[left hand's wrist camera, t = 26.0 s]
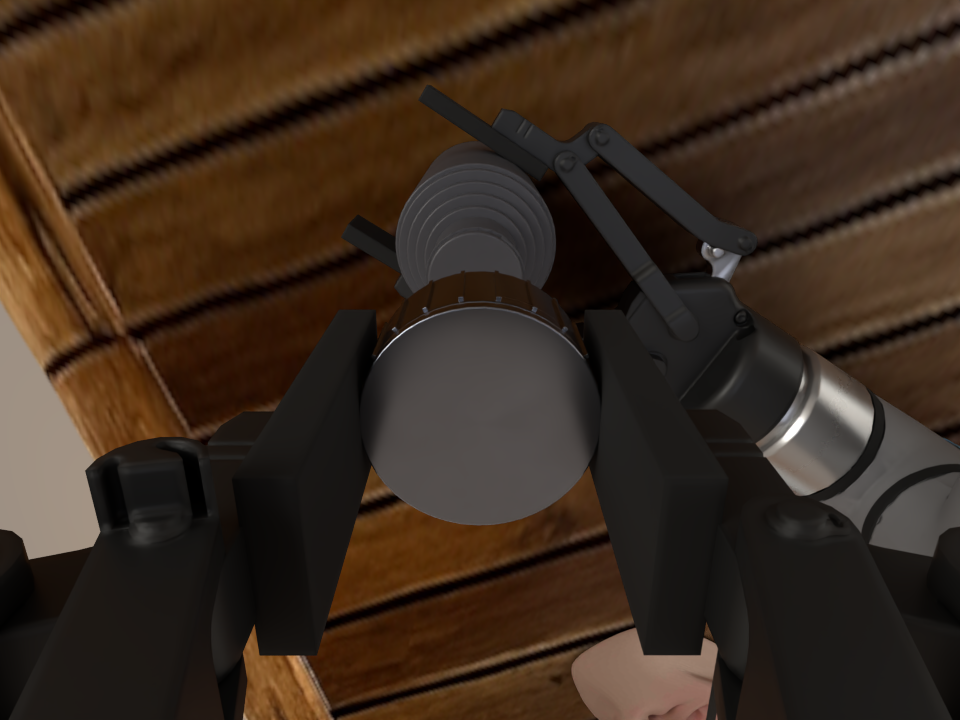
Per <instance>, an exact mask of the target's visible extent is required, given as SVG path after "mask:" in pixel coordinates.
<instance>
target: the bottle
mask: <svg viewBox="0 0 960 720" xmlns="http://www.w3.org/2000/svg"><path fill="white" fill-rule="evenodd" d="M395 244H396V255H397V260H398V264H399V267H400V270H401V273H402V275H403V277H404V279H405V281H406V283H407V284H408V286H409V287H410V289H411V290H412V292H413V293H415V292H417V291H418V290H420V289H421V288H423V287H425V286H426V285H428V284H429V281H431V280H433V281H436V280H439V279H441V278H444V277H447V276H450V275H454V274H459V273H461V271H464V270H465V272H478V271H486V272H495V270H496V271H499V273H502V274H506V275H510V276H514V277H516V278H519V279H522V280H525V281H526V280H529V281H531V284H532V285H534V286H536V287H538V288H539V289H542V287H543V285H544V284H545V282H546V280H547V279H548V276H549V274H550V272H551V269H552V266H553V262H554V258H555V252H556V235H555V227H554V223H553V219H552V216H551V214H550V211H549V209H548V207H547V205H546V203H545V202H544V200H543V198H542V197H541V195H540V193H539V192H538V190H537V189H536V187H535V185H534V184H533V182H532V181H531V179H530V177H529V176H528V174H527V173H526V172H525V171H523V170H522V169H520V168H519V167H517V166H516V165H515V164H513V163H511V162H510V161H508V160H507V159H505V158H504V157H502V156H501V155H499V154H498V153H496V152H495V151H493V150H492V149H490V148H489V147H487V146H486V145H485V144H483V143H482V142H480V141H471V142H465V143H461V144H458V145H455V146H453V147H451V148H449V149H447V150H446V151H444V152H443V153H442V154H441V155H439V156H438V157H437V158H436V159H435V161H434V162H433V163H432V164H431V166H430V167H429V169H428V170H427V172H426V173H425V175H424V176H423V178H422V179H421V181H420V182H419V184H418V185H417V187H416V188H415V190H414V192H413V193H412V195H411V196H410V198H409V199H408V201H407V202H406V204H405V206H404V208H403V210H402V212H401V215H400V218H399V221H398V225H397V230H396V242H395Z"/></svg>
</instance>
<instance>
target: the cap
mask: <svg viewBox="0 0 960 720" xmlns="http://www.w3.org/2000/svg"><path fill="white" fill-rule="evenodd" d="M587 358H589V354H588V352H587V350H586V347H585V345H584V342H583V340H582V337H581V335H580V332H579V330H578V328H577V325H576V323H575V322H571V320H570V319H569V317H568V315H567V314H566V313H565V312H564V310H563V309H562V308H561V307H560V305H559V303H558V300H557V299H556V298H555V297H554V298H553V299H552V298H551V297H550V296H549V295H548V294H546V293H545V292H544V291H542V290H541V289H539V288H538V287H536V286H534V285H532V284H531V281H529V280H526V281H525V280H522V279H519V278H516V277H514V276H510V275H506V274H502V273H499V271H496V270H495V272H486V271H478V272H465V270H464V271H461V273H459V274H454V275H450V276H447V277H444V278H441V279H439V280H436V281H433V280H431V281H429V284H428V285H426V286H425V287H423V288H421V289H420V290H418V291H417V292H415V293H414V294H413V295H412V296H410V297H409V298H408V299H406V298H404V299H403V301H402V304H401V306H400V307H399V308H398V309H397V311H396V312H395V314H394V315H393V316H392V318H391V319H390V321H389V323H387V322H385V324H384V326H383V328H382V331H381V333H380V336H379V338H378V341H377V343H376V346H375V348H374V351H373V353H372V355H371V359H373V360H372V363H371V365H370V368H369V371H368V373H367V375H366V378H365V381H364V384H363V386H362V390H361V395H360V400H359V415H360V428H361V440H362V444H363V447H364V450H365V452H366V455H367V457H368V459H369V461H370V463H371V465H372V466H373V468H374V470H375V472H376V473H377V474H378V476H379V477H380V478H381V480H382V481H383V482H384V483H385V485H386V486H387V487H388V488H389V489H390V490H392V491H393V492H394V493H395V494H396V495H397V496H398V497H400V498H401V499H402V500H403V501H405V502H406V503H407V504H409V505H411V506H413V507H414V508H416V509H418V510H419V511H422V512H424V513H426V514H428V515H431V516H433V517H436V518H439V519H442V520H445V521H450V522H455V523H460V524H469V525H493V524H500V523H507V522H511V521H515V520H519V519H522V518H525V517H527V516H530V515H533V514H535V513H537V512H539V511H541V510H543V509H545V508H547V507H548V506H550V505H551V504H553V503H554V502H556V501H557V500H559V499H560V498H561V497H562V496H563V495H565V494H566V493H567V492H568V491H569V490H570V489H571V488H572V487H573V486H574V485H575V484H576V483H577V482H578V480H579V479H580V478H581V476H582V475H583V474H584V472H585V471H586V469H587V468H588V466H589V464H590V462H591V460H592V458H593V456H594V454H595V451H596V448H597V445H598V442H599V434H600V421H601V396H600V393H599V389H598V384H597V381H596V379H595V376H594V374H593V371H592V369H591V366H590V364H589V361H588V359H587Z"/></svg>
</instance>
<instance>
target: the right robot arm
mask: <svg viewBox="0 0 960 720" xmlns="http://www.w3.org/2000/svg"><path fill="white" fill-rule="evenodd" d="M419 101H420V102H422V103H423V104H425V105H426V106H428V107H429V108H431V109H432V110H434V111H435V112H437V113H438V114H440V115H441V116H443V117H444V118H446V119H447V120H449V121H450V122H452V123H453V124H455V125H456V126H458V127H459V128H461V129H462V130H464V131H465V132H467V133H468V134H470V135H471V136H473V137H474V138H476V139H477V140H479V141H480V142H482V143H483V144H485V145H486V146H487V147H489V148H490V149H492V150H493V151H495V152H496V153H498V154H499V155H501V156H502V157H504V158H505V159H507V160H508V161H510V162H511V163H513V164H515V165H516V166H517V167H519V168H520V169H522V170H523V171H525V172H526V173H528V174H529V175H531V176H532V177H534V178H535V179H537V180H538V181H540V180H541V178H542V177H543V175H544V174H545V172H546V171H547V169H548V168H550V169H551V170H553V171H554V172H555V173H556V175H557V176H558V177H559V179H560V180H561V181H562V183H563V184H564V186H565V187H566V188H567V190H568V191H569V192H570V194H571V195H572V196H573V198H574V199H575V201H576V202H577V203H578V205H579V206H580V207H581V209H582V210H583V212H584V213H585V214H586V216H587V217H588V218H589V220H590V221H591V223H592V224H593V225H594V227H595V228H596V229H597V231H598V232H599V234H600V235H601V236H602V238H603V239H604V240H605V242H606V243H607V245H608V246H609V247H610V249H611V250H612V251H613V253H614V254H615V256H616V257H617V258H618V260H619V261H620V262H621V264H622V265H623V267H624V268H625V270H626V271H627V272H628V274H629V275H630V276H631V278H632V279H633V281H634V282H633V281H631V283H630V284H629V285H628V287H627V288H626V290H625V291H624V292H623V295H622V297H621V299H620V302H619V304H618V306H617V307H616V308H615V309H614V310H622V312H623V313H624V315H625V317H626V318H627V320H628V321H629V323H630V324H631V326H632V327H633V329H634V331H635V332H636V334H637V335H638V337H639V338H640V340H641V342H642V343H643V345H644V346H645V348H646V349H647V351H648V353H649V354H650V356H651V357H652V359H653V360H654V362H655V364H656V365H657V367H658V368H659V370H660V371H661V373H662V375H663V376H664V378H665V379H666V381H667V382H668V384H669V386H670V387H671V389H672V390H673V392H674V393H675V395H676V396H677V398H678V400H679V401H680V403H681V404H682V406H683V407H684V409H717V410H719V411H720V412H722V413H724V414H725V415H727V416H728V417H730V418H732V419H733V420H735V421H737V422H738V423H740V424H741V425H742V427H743V428H744V429H745V431H746V432H747V433H748V434H749V436H750V437H751V438H752V440H753V443H756V445H757V446H758V447H759V449H760V450H761V451H762V452H763V457H766V458H767V459H768V460H769V461H770V463H771V464H772V465H773V467H774V468H775V469H776V471H777V472H778V473H779V474H780V476H781V477H782V478H783V480H784V481H785V482H786V483H787V485H788V486H789V487H790V489H791V490H792V491H793V492H794V494H795V495H798V496H803V497H808V498H812V499H814V500H817V501H819V502H822V503H824V504H827V505H829V506H832V507H833V508H835V509H836V510H838V511H839V512H841V513H842V514H844V515H845V516H847V517H848V518H849V519H850V520H851V521H852V522H853V523H854V525H855V526H856V527H857V528H858V530H859V531H860V533H861V535H862V537H863V539H864V541H865V543H867V544H871V545H875V546H879V547H884V548H889V549H894V550H899V551H904V552H910V553H915V554H920V555H925V556H931V557H933V555H934V551H935V548H936V545H937V542H938V538H939V536H940V535H941V534H942V533H944V532H945V531H946V530H948V529H949V528H954V527H960V446H958V445H956V444H954V443H953V442H951V441H950V440H948V439H945V438H942V437H940V436H939V435H937V434H936V433H934V432H933V431H931V430H930V429H928V428H927V427H925V426H924V425H922V424H921V423H919V422H918V421H916V420H915V419H913V418H911V417H910V416H908V415H907V414H905V413H904V412H902V411H900V410H899V409H897V408H896V407H894V406H893V405H891V404H889V403H888V402H886V401H885V400H883V399H882V398H880V397H878V396H877V395H875V394H874V393H873V392H872V391H871V390H869V389H868V388H866V387H865V385H863V384H862V383H860V382H859V381H857V380H856V379H854V378H853V377H851V376H850V375H848V374H847V373H845V372H844V371H842V370H841V369H840V368H838V367H837V366H835V365H834V364H832V363H831V362H829V361H828V360H826V359H825V358H823V357H822V356H820V355H819V354H817V353H816V352H814V351H813V350H811V349H810V348H808V347H805V346H803V345H799V343H798V342H797V340H796V339H795V338H794V337H792V336H791V335H789V334H788V333H786V332H785V331H783V330H782V329H780V328H779V327H777V326H776V325H774V324H773V323H771V322H770V321H768V320H767V319H765V318H764V317H762V316H761V315H759V314H758V313H757V312H755V311H754V310H752V309H751V308H749V307H748V306H746V305H745V304H743V303H742V302H740V300H739V299H738V297H737V296H736V293H735V291H734V288H733V287H732V285H731V284H730V283H729V282H730V280H731V277H732V275H733V273H734V271H735V269H736V267H737V265H738V263H739V260H740V258H741V256H745V255H749V254H750V253H752V252H753V251H754V250H755V248H756V246H757V243H758V242H757V237H756V236H755V234H754V233H752V232H750V231H748V230H746V229H744V228H742V227H740V226H738V225H736V224H734V223H732V222H729V221H726V220H723V219H720V218H718V217H715V216H713V215H711V214H710V213H709V212H708V211H707V210H706V209H705V208H703V207H702V206H701V205H700V204H699V203H698V202H696V201H695V200H694V199H693V198H692V197H691V196H690V195H688V194H687V193H686V192H685V191H684V190H683V189H682V188H680V187H679V186H678V185H677V184H676V183H675V182H673V181H672V180H671V179H670V178H669V177H668V176H667V175H665V174H664V173H663V172H662V171H661V170H660V169H659V168H657V167H656V166H655V165H654V164H653V163H652V162H651V161H649V160H648V159H647V158H646V157H645V156H644V155H642V154H641V153H640V152H639V151H638V150H637V149H636V148H634V147H633V146H632V145H631V144H630V143H629V142H628V141H626V140H625V139H624V138H623V137H622V136H621V135H620V134H618V133H617V132H616V131H615V130H614V129H613V128H611V127H610V126H608V125H606V124H602V123H598V122H592V123H589V124H587V125H586V126H585V127H584V129H583V130H581V131H580V132H579V133H577V134H576V135H575V136H574V137H572V138H571V139H569V140H566V141H558V140H555V139H554V138H552V137H551V136H549V135H548V134H547V133H545V132H544V131H542V130H541V129H539V128H538V127H536V126H535V125H533V124H532V123H531V122H529V121H528V120H526V119H525V118H523V117H522V116H520V115H519V114H518V113H516V112H515V111H512V110H507V109H501V110H500V112H499V114H498V115H497V117H496V119H495V120H494V122H493V124H492V125H491V126H490V125H489V124H487V123H486V122H484V121H483V120H481V119H480V118H478V117H477V116H475V115H474V114H472V113H471V112H469V111H468V110H466V109H465V108H464V107H462V106H461V105H459V104H458V103H456V102H455V101H453V100H452V99H450V98H449V97H447V96H446V95H444V94H443V93H441V92H440V91H438V90H437V89H435V88H434V87H433V86H431V85H427V86H426V88H425V89H424V91H423V93H422V95H421V96H420V98H419ZM596 156H599V157H600V158H601V159H602V160H603V161H605V162H606V163H607V164H608V165H609V166H610V167H612V168H613V169H614V170H615V171H616V172H617V173H619V174H620V175H621V176H622V177H623V178H624V179H626V180H627V181H628V182H629V183H630V184H631V185H633V186H634V187H635V188H636V189H637V190H639V191H640V192H641V193H642V194H643V195H644V196H646V197H647V198H648V199H649V200H650V201H651V202H653V203H654V204H655V205H656V206H657V207H658V208H660V209H661V210H662V211H663V212H664V213H666V214H667V215H668V216H669V217H670V218H671V219H673V220H674V221H675V222H676V223H677V224H678V225H680V226H681V227H682V228H684V229H685V230H686V231H688V232H689V233H691V234H692V235H694V236H695V237H697V238H699V239H698V241H697V244H696V250H697V252H698V254H699V255H700V256H702V257H703V258H704V259H705V260H706V262H707V270H706V272H693V273H676V274H662V273H661V271H660V270H659V268H658V267H657V266H656V265H655V263H654V262H653V261H652V260H651V258H650V257H649V255H648V254H647V253H646V251H645V250H644V248H643V247H642V246H641V244H640V243H639V241H638V240H637V239H636V237H635V236H634V234H633V233H632V231H631V230H630V229H629V227H628V226H627V224H626V223H625V222H624V220H623V219H622V217H621V216H620V215H619V213H618V212H617V210H616V209H615V208H614V206H613V205H612V203H611V202H610V200H609V199H608V198H607V196H606V195H605V193H604V192H603V191H602V189H601V188H600V186H599V185H598V184H597V182H596V181H595V179H594V178H593V177H592V175H591V174H590V172H589V171H588V169H587V168H586V167H585V165H586V164H587V163H589V162H590V161H591V160H593V159H594V158H595V157H596ZM341 238H343V239H345V240H346V241H348V242H349V243H351V244H353V245H354V246H356V247H358V248H359V249H361V250H363V251H364V252H366V253H368V254H369V255H371V256H373V257H374V258H376V259H378V260H379V261H381V262H382V263H384V264H386V265H387V266H389V267H391V268H392V269H394V270H396V271H397V272H399V273H401V270H400V267H399V264H398V260H397V255H396V244H395V242H396V238H395V237H394V236H392V235H390V234H389V233H387V232H386V231H384V230H382V229H381V228H379V227H377V226H376V225H374V224H373V223H371V222H369V221H368V220H366V219H364V218H363V217H361V216H360V215H357V216H356V217H355V218H354V219H353V220H352V221H351V222H350V223H349V224H348V226H347V228H346V229H345V231H344V233H343V235H342V236H341ZM394 287H395V289H396V290H397V291H398V292H399V294H400V295H401V296H403V297H404V298H406V299H408V298H409V297H410V296H412V295H413V294H414V293H413V292H412V290H411V289H410V287H409V286H408V284H407V283H406V281H405V279H404V277H403V275H402V273H401V275H400V276H399V278H398V280H397V282H396V284H395V286H394ZM576 325H577V328H578V330H579V332H580V335H581V337H582V340H583V332H584V322H580V323H576Z"/></svg>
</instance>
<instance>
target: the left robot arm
mask: <svg viewBox="0 0 960 720" xmlns="http://www.w3.org/2000/svg"><path fill="white" fill-rule="evenodd" d="M583 342H584V345H585V347H586V350H587V352H588V354H589V358H587V359H588V361H589V364H590V366H591V369H592V371H593V374H594V376H595V379H596V381H597V384H598V389H599V393H600V396H601V421H600V434H599V442H598V445H597V448H596V451H595V454H594V456H593V458H592V460H591V462H590V464H589V467H590V471H591V474H592V478H593V481H594V484H595V488H596V491H597V495H598V498H599V502H600V505H601V509H602V512H603V516H604V519H605V523H606V526H607V530H608V533H609V537H610V540H611V543H612V547H613V550H614V554H615V557H616V561H617V564H618V568H619V571H620V575H621V578H622V582H623V585H624V589H625V592H626V595H627V599H628V602H629V606H630V609H631V613H632V616H633V620H634V623H635V627H636V630H637V634H638V637H639V641H640V644H641V648H642V651H643V654H644V655H701V651H702V644H703V638H704V632H705V626H706V622H707V624H708V627H709V629H710V631H711V634H712V636H713V638H714V641H715V643H716V645H717V648H718V651H717V657H716V663H715V669H714V675H713V680H712V686H711V692H710V698H709V704H708V710H707V716H706V720H716V715H717V720H960V527H954V528H949V529H948V530H946V531H945V532H944V533H942V534H941V535H940V536H939V538H938V542H937V545H936V548H935V551H934V555H933V557H931V556H925V555H920V554H915V553H910V552H904V551H899V550H894V549H889V548H884V547H879V546H875V545H871V544H867V543H865V541H864V539H863V537H862V535H861V533H860V531H859V530H858V528H857V527H856V526H855V525H854V523H853V522H852V521H851V520H850V519H849V518H848V517H847V516H845V515H844V514H842V513H841V512H839V511H838V510H836V509H835V508H833V507H832V506H829V505H827V504H824V503H822V502H819V501H817V500H814V499H812V498H808V497H803V496H798V495H795V494H794V492H793V491H792V490H791V489H790V487H789V486H788V485H787V483H786V482H785V481H784V480H783V478H782V477H781V476H780V474H779V473H778V472H777V471H776V469H775V468H774V467H773V465H772V464H771V463H770V461H769V460H768V459H767V458H766V457H763V452H762V451H761V450H760V449H759V447H758V446H757V445H756V443H753V440H752V438H751V437H750V436H749V434H748V433H747V432H746V431H745V429H744V428H743V427H742V425H741V424H740V423H738V422H737V421H735V420H733V419H732V418H730V417H728V416H727V415H725V414H724V413H722V412H720V411H719V410H717V409H684V407H683V406H682V404H681V403H680V401H679V400H678V398H677V396H676V395H675V393H674V392H673V390H672V389H671V387H670V386H669V384H668V382H667V381H666V379H665V378H664V376H663V375H662V373H661V371H660V370H659V368H658V367H657V365H656V364H655V362H654V360H653V359H652V357H651V356H650V354H649V353H648V351H647V349H646V348H645V346H644V345H643V343H642V342H641V340H640V338H639V337H638V335H637V334H636V332H635V331H634V329H633V327H632V326H631V324H630V323H629V321H628V320H627V318H626V317H625V315H624V313H623V312H622V310H585V316H584V332H583ZM376 343H377V325H376V310H339V311H338V313H337V314H336V316H335V317H334V319H333V320H332V322H331V324H330V325H329V327H328V328H327V330H326V331H325V333H324V335H323V336H322V338H321V339H320V341H319V342H318V344H317V345H316V347H315V349H314V350H313V352H312V353H311V355H310V356H309V358H308V360H307V361H306V363H305V364H304V366H303V367H302V369H301V371H300V372H299V374H298V375H297V377H296V378H295V380H294V382H293V383H292V385H291V386H290V388H289V389H288V391H287V393H286V394H285V396H284V397H283V399H282V400H281V402H280V404H279V405H278V407H277V408H276V410H275V411H274V412H243V413H241V414H239V415H238V416H236V417H234V418H233V419H231V420H229V421H228V422H226V423H225V424H223V425H221V426H220V428H219V429H218V430H217V431H216V433H215V434H214V435H213V437H212V438H211V439H210V441H209V442H208V446H205V445H203V444H202V443H201V442H199V441H197V440H193V439H188V438H184V437H159V438H153V439H147V440H142V441H137V442H134V443H131V444H128V445H125V446H122V447H119V448H116V449H114V450H112V451H110V452H109V453H107V454H105V455H103V456H101V457H100V458H98V459H96V460H95V461H94V462H93V463H92V464H91V465H90V466H89V467H88V468H87V469H86V471H85V472H86V476H87V480H88V484H89V487H90V491H91V495H92V500H93V504H94V508H95V512H96V516H97V520H98V523H99V527H100V531H101V532H100V534H99V536H98V538H97V540H96V542H95V544H94V546H93V547H89V548H85V549H82V550H77V551H72V552H67V553H61V554H56V555H51V556H46V557H41V558H35V559H30V560H29V559H28V556H27V553H26V549H25V546H24V543H23V540H22V538H20V537H19V536H18V535H17V534H15V533H14V532H13V531H7V530H1V529H0V720H243V713H244V704H245V696H246V687H247V676H246V669H245V663H244V657H243V650H244V648H245V645H246V643H247V641H248V638H249V636H250V634H251V631H252V629H253V626H254V624H255V629H256V635H257V642H258V648H259V654H260V655H317V653H318V649H319V646H320V642H321V639H322V635H323V632H324V628H325V625H326V621H327V618H328V614H329V611H330V607H331V604H332V601H333V597H334V594H335V590H336V587H337V583H338V580H339V576H340V573H341V569H342V566H343V562H344V559H345V555H346V552H347V548H348V545H349V542H350V538H351V535H352V531H353V528H354V524H355V521H356V517H357V514H358V510H359V507H360V503H361V500H362V496H363V493H364V489H365V486H366V483H367V479H368V476H369V472H370V469H371V463H370V461H369V459H368V457H367V455H366V452H365V450H364V447H363V444H362V440H361V428H360V415H359V400H360V395H361V390H362V386H363V384H364V381H365V378H366V375H367V373H368V371H369V368H370V365H371V363H372V360H373V359H371V355H372V353H373V351H374V348H375V346H376Z"/></svg>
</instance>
